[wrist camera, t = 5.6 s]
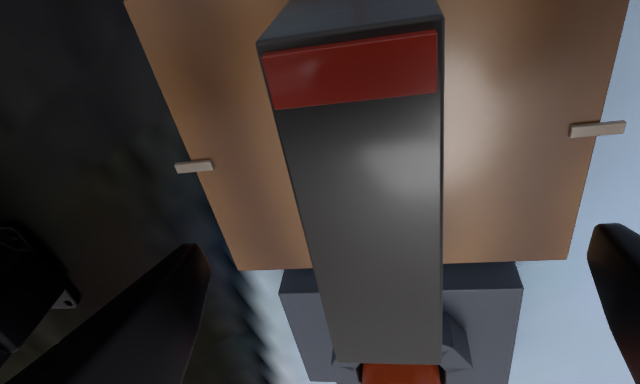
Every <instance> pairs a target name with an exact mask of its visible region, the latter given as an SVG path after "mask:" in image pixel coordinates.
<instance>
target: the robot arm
mask: <svg viewBox="0 0 640 384" xmlns="http://www.w3.org/2000/svg"><path fill="white" fill-rule="evenodd" d="M587 260H588V264H589V267H590V270H591V273H592V276H593V279H594V282H595V286H596V289H597V292H598V295H599V298H600V301H601V304H602V307H603V310H604V313H605V316H606V319H607V321H608V324H609V327H610V330H611V332H612V334H613V336H614V339H615V341H616V343H617V345H618V347H619V349H620V351H621V354H622V356H623V358H624V360H625V362H626V364H627V366H628V368H629V371H630V373H631V375H632V377H633V379H634V381H635V383H636V384H640V235H639V234H637V233H635V232H634V231H632V230H630V229H629V228H627V227H625V226H624V225H622V224H619V223H608V224H598V225H596V226H595V228H594V230H593V234H592V237H591V241H590V244H589V248H588V252H587ZM210 276H211V267H210V264H209V262H208V260H207V258H206V256H205V253H204V251H203V249H202V247H201V246H200V245H199V244H197V243H192V244H183V245H181V246H180V247H178V248H177V249H176V250H175V251H173V252H172V253H171V254H169V255H168V256H167V257H166V258H164V259H163V260H162V261H161V262H159V263H158V264H157V265H156V266H154V267H153V268H152V269H151V270H149V271H148V272H147V273H145V274H144V275H143V276H142V277H140V278H139V279H138V280H137V281H135V282H134V283H133V284H132V285H130V286H129V287H128V288H127V289H125V290H124V291H123V292H121V293H120V294H119V295H118V296H116V297H115V298H114V299H113V300H111V301H110V302H109V303H108V304H106V305H105V306H104V307H102V308H101V309H100V310H99V311H97V312H96V313H95V314H94V315H92V316H91V317H90V318H89V319H87V320H86V321H85V322H84V323H82V324H81V325H80V326H78V327H77V328H76V329H75V330H73V331H72V332H71V333H70V334H68V335H67V336H66V337H65V338H63V339H62V340H61V341H60V342H59V344H56V345H54V346H53V347H52V348H51V349H49V350H48V351H47V352H46V353H44V354H43V355H42V356H40V357H39V358H38V359H37V360H35V361H34V362H33V363H31V364H30V365H29V366H27V367H26V368H25V369H24V370H22V371H21V372H20V373H18V374H17V375H16V376H14V377H13V378H11V379H10V380H9V381H7V382H6V383H5V384H181V382H182V379H183V376H184V373H185V370H186V367H187V364H188V361H189V358H190V355H191V352H192V349H193V346H194V343H195V340H196V337H197V334H198V330H199V327H200V323H201V318H202V314H203V309H204V304H205V300H206V295H207V290H208V286H209V281H210ZM79 302H80V298H79V296H78V295H77V294H76V293H75V291H74V290H73V289H72V288H71V286H70V285H69V284H68V283H67V281H66V280H65V279H64V278H63V276H62V275H61V274H60V273H59V271H58V270H57V269H56V268H55V266H54V265H53V264H52V263H51V261H50V260H49V259H48V258H47V256H46V255H45V254H44V253H43V251H42V250H41V249H40V248H39V246H38V245H37V244H36V243H35V241H34V240H33V239H32V238H31V236H30V235H29V234H28V233H27V231H26V230H25V229H24V228H23V227H22V226H20V225H19V224H16V223H0V368H1V367H2V365H3V364H4V363H5V361H6V360H7V359H8V358H9V356H10V355H11V354H12V353H13V352H16V351H17V350H19V348H20V347H21V346H22V345H23V343H24V342H25V341H26V339H27V338H28V337H29V336H30V334H31V333H32V332H33V330H34V329H35V328H36V327H37V325H38V324H39V323H40V322H41V320H42V319H43V318H44V316H45V315H46V314H47V313H48V311H49V310H50V309H63V308H76V307H77V305H78V304H79Z"/></svg>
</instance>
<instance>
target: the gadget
mask: <svg viewBox="0 0 640 384" xmlns="http://www.w3.org/2000/svg"><path fill="white" fill-rule="evenodd" d="M255 46H256V50H257V54H258V58H259V62H260V66H261V69H262V73H263V77H264V81H265V85H266V89H267V93H268V97H269V100H270V104H271V108H272V112H273V116H274V120H275V124H276V127H277V131H278V135H279V139H280V143H281V147H282V151H283V155H284V158H285V162H286V166H287V170H288V174H289V178H290V182H291V185H292V189H293V193H294V197H295V201H296V205H297V209H298V213H299V216H300V220H301V224H302V228H303V232H304V236H305V240H306V243H307V247H308V251H309V255H310V259H311V263H312V267H313V271H314V274H315V278H316V282H317V286H318V290H319V294H320V298H321V301H322V305H323V309H324V313H325V317H326V321H327V325H328V329H329V332H330V336H331V340H332V344H333V348H334V352H335V356H336V359H337V362H339V363H374V364H423V365H440V364H441V363H442V308H443V193H444V78H445V17H444V15H443V13H442V11H441V9H440V7H439V4H438V2H437V0H289V1H288V3H287V4H286V5H285V6H284V8H283V9H282V10H281V11H280V12H279V14H278V15H277V16H276V17H275V19H274V20H273V21H272V22H271V24H270V25H269V26H268V27H267V28H266V30H265V31H264V32H263V33H262V35H261V36H260V37H259V38H258V40H257V41H256V44H255Z"/></svg>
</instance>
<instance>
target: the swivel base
mask: <svg viewBox="0 0 640 384" xmlns="http://www.w3.org/2000/svg"><path fill="white" fill-rule="evenodd" d="M288 1H289V0H124V1H123V2H124V5H125V7H126V9H127V12H128V14H129V16H130V19H131V21H132V23H133V26H134V28H135V30H136V33H137V35H138V37H139V40H140V42H141V44H142V47H143V49H144V51H145V54H146V56H147V58H148V61H149V63H150V65H151V68H152V70H153V72H154V75H155V77H156V79H157V82H158V84H159V86H160V89H161V91H162V93H163V96H164V98H165V100H166V103H167V105H168V107H169V110H170V112H171V114H172V117H173V119H174V121H175V124H176V126H177V128H178V131H179V133H180V135H181V138H182V140H183V142H184V145H185V147H186V149H187V152H188V154H189V156H190V159H191V161H192V162H181V163H175V165H174V166H175V168H176V171H177V173H188V172H196V173H197V175H198V177H199V180H200V182H201V184H202V187H203V189H204V191H205V194H206V196H207V198H208V201H209V203H210V205H211V208H212V210H213V212H214V215H215V217H216V219H217V222H218V224H219V226H220V229H221V231H222V233H223V236H224V238H225V240H226V243H227V245H228V247H229V250H230V252H231V254H232V257H233V259H234V261H235V264H236V266H237V268H238V270H239V271H246V270H276V269H305V268H313V267H312V263H311V259H310V255H309V251H308V247H307V243H306V240H305V236H304V232H303V228H302V224H301V220H300V216H299V213H298V209H297V205H296V201H295V197H294V193H293V189H292V185H291V182H290V178H289V174H288V170H287V166H286V162H285V158H284V155H283V151H282V147H281V143H280V139H279V135H278V131H277V127H276V124H275V120H274V116H273V112H272V108H271V104H270V100H269V97H268V93H267V89H266V85H265V81H264V77H263V73H262V69H261V66H260V62H259V58H258V54H257V50H256V46H255V44H256V41H257V40H258V38H259V37H260V36H261V35H262V33H263V32H264V31H265V30H266V28H267V27H268V26H269V25H270V24H271V22H272V21H273V20H274V19H275V17H276V16H277V15H278V14H279V12H280V11H281V10H282V9H283V8H284V6H285V5H286V4H287V3H288ZM437 2H438V4H439V7H440V9H441V11H442V13H443V15H444V17H445V78H444V193H443V264H451V263H480V262H509V261H538V260H566V259H567V256H568V252H569V248H570V243H571V239H572V235H573V231H574V227H575V223H576V219H577V215H578V210H579V206H580V202H581V198H582V194H583V190H584V186H585V182H586V177H587V173H588V169H589V165H590V161H591V157H592V153H593V149H594V144H595V140H596V136H600V135H611V134H623V133H624V130H625V126H626V122H625V121H624V120H621V121H610V122H600V120H601V116H602V111H603V107H604V103H605V99H606V95H607V91H608V87H609V83H610V78H611V74H612V70H613V66H614V62H615V58H616V54H617V50H618V45H619V41H620V37H621V33H622V29H623V25H624V21H625V16H626V12H627V8H628V4H629V0H437Z"/></svg>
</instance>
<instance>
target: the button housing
mask: <svg viewBox="0 0 640 384" xmlns="http://www.w3.org/2000/svg"><path fill="white" fill-rule="evenodd" d="M523 290H524V288H523V285H522V282H521V279H520V276H519V273H518V270H517V268H516V265H515V262H514V261H509V262H480V263H451V264H443V308H442V363H441V364H440V365H438V368H439V374H440V382H441V384H508V380H509V374H510V368H511V362H512V356H513V350H514V344H515V338H516V332H517V326H518V320H519V314H520V308H521V302H522V296H523ZM278 294H279V297H280V300H281V303H282V305H283V308H284V311H285V314H286V316H287V319H288V322H289V325H290V327H291V330H292V333H293V336H294V338H295V341H296V344H297V347H298V349H299V352H300V355H301V358H302V360H303V363H304V366H305V369H306V371H307V374H308V377H309V380H310V381H317V382H336V383H337V384H362V374H363V364H364V363H339V362H337V359H336V356H335V352H334V348H333V344H332V340H331V336H330V332H329V329H328V325H327V321H326V317H325V313H324V309H323V305H322V301H321V298H320V294H319V290H318V286H317V282H316V278H315V274H314V271H313V268H305V269H284V273H283V277H282V281H281V285H280V289H279V293H278Z"/></svg>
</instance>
